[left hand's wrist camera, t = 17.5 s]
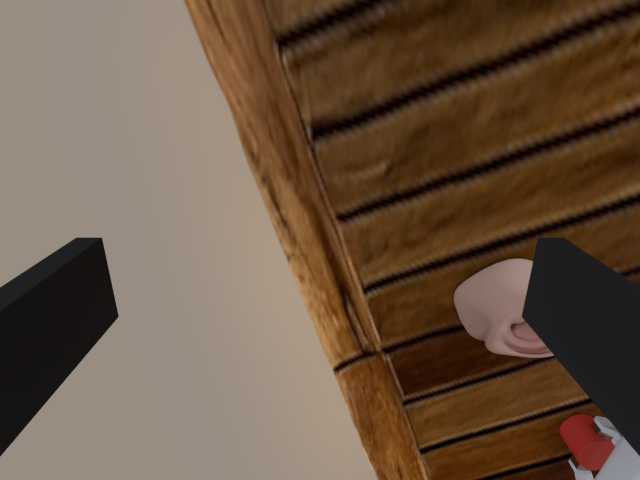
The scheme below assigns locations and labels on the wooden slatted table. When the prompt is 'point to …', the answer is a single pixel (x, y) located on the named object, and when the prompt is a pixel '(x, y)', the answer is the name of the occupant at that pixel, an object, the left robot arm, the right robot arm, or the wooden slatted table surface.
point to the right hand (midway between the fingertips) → (586, 438)
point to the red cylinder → (586, 442)
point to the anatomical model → (500, 309)
